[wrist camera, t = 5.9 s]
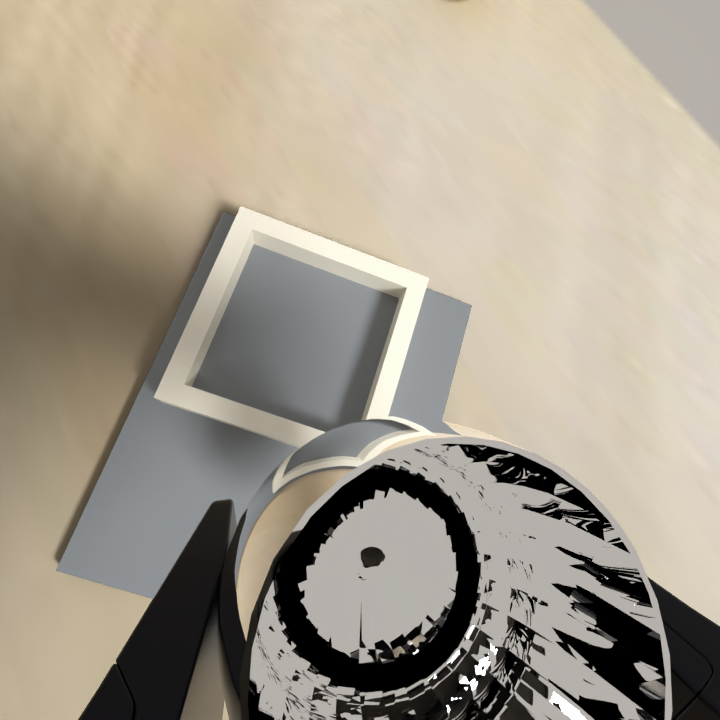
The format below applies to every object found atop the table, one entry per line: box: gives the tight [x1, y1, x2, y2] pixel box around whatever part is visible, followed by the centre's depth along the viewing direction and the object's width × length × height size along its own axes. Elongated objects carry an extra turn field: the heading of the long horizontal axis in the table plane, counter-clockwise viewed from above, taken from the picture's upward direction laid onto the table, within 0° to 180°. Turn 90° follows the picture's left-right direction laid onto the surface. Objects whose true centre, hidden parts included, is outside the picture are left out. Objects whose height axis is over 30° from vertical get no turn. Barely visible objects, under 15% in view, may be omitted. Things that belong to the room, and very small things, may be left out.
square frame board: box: [56, 206, 472, 599], centre depth 22 cm, size 15×19×2 cm
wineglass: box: [217, 416, 672, 720], centre depth 10 cm, size 6×6×12 cm
